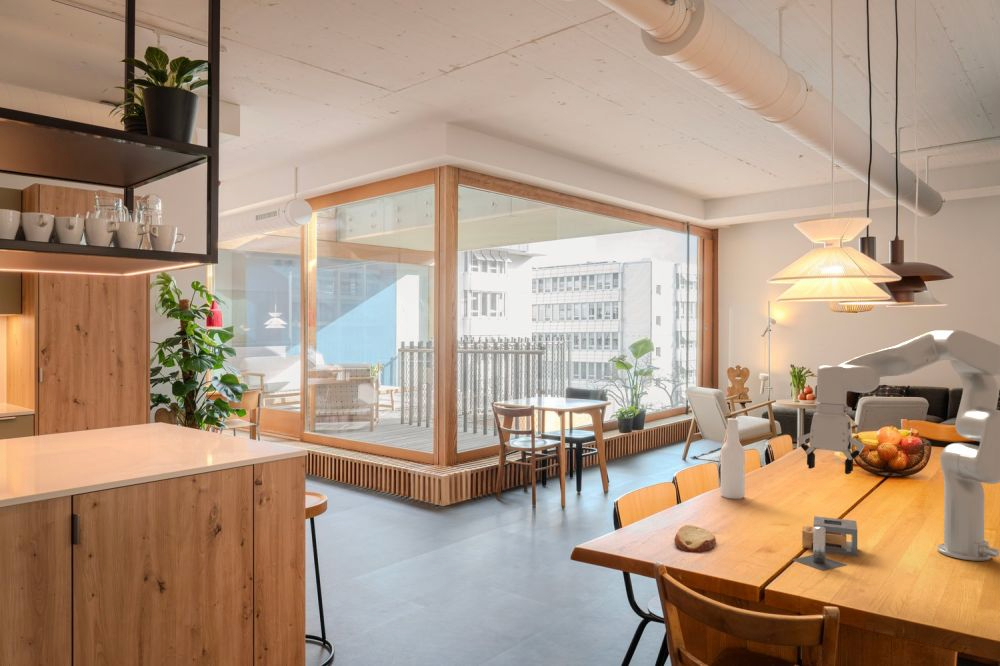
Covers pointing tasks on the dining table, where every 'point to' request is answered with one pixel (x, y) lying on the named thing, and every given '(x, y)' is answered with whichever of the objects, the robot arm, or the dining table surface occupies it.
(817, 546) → the pin
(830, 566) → the mat
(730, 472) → the alcohol
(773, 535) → the dining table surface
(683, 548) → the slice of bread
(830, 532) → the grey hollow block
